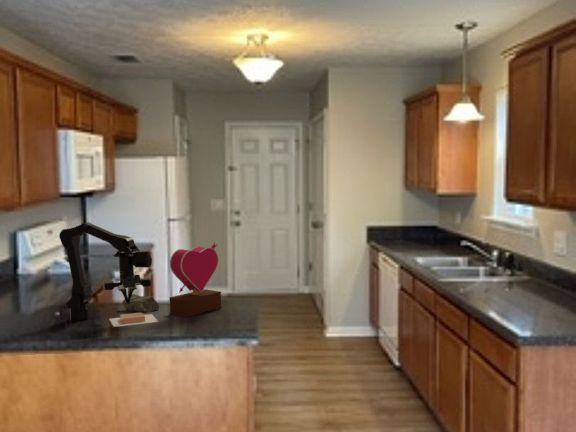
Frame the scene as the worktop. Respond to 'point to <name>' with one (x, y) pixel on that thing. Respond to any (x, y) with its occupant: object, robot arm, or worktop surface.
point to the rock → (141, 304)
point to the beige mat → (148, 319)
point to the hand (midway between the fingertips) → (127, 304)
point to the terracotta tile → (132, 318)
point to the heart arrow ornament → (194, 281)
